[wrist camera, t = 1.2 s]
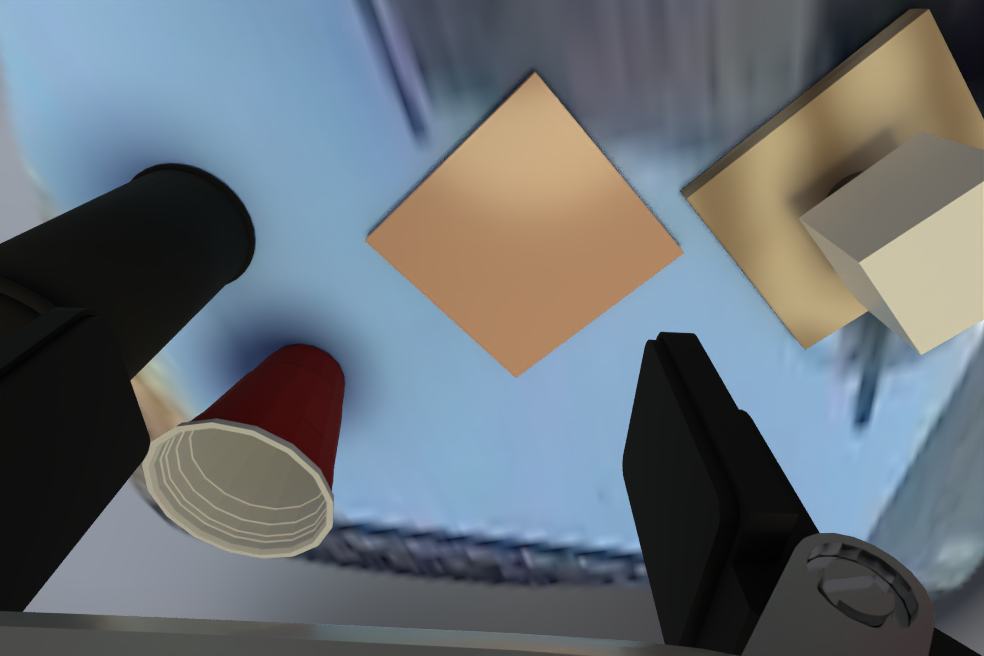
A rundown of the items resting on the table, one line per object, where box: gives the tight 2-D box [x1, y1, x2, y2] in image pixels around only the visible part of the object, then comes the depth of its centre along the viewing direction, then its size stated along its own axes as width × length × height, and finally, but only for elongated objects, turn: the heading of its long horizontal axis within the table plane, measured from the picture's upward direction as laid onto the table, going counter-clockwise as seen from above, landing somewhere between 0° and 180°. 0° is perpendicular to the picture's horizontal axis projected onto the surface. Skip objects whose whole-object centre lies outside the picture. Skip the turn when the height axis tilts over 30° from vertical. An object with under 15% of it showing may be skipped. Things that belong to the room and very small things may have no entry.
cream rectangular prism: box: [799, 131, 984, 355], centre depth 28 cm, size 7×7×6 cm
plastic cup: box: [142, 344, 345, 558], centre depth 36 cm, size 11×11×12 cm
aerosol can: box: [0, 164, 255, 380], centre depth 27 cm, size 8×8×20 cm
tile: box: [365, 70, 684, 378], centre depth 35 cm, size 14×14×1 cm
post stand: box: [680, 9, 984, 350], centre depth 30 cm, size 14×14×10 cm
